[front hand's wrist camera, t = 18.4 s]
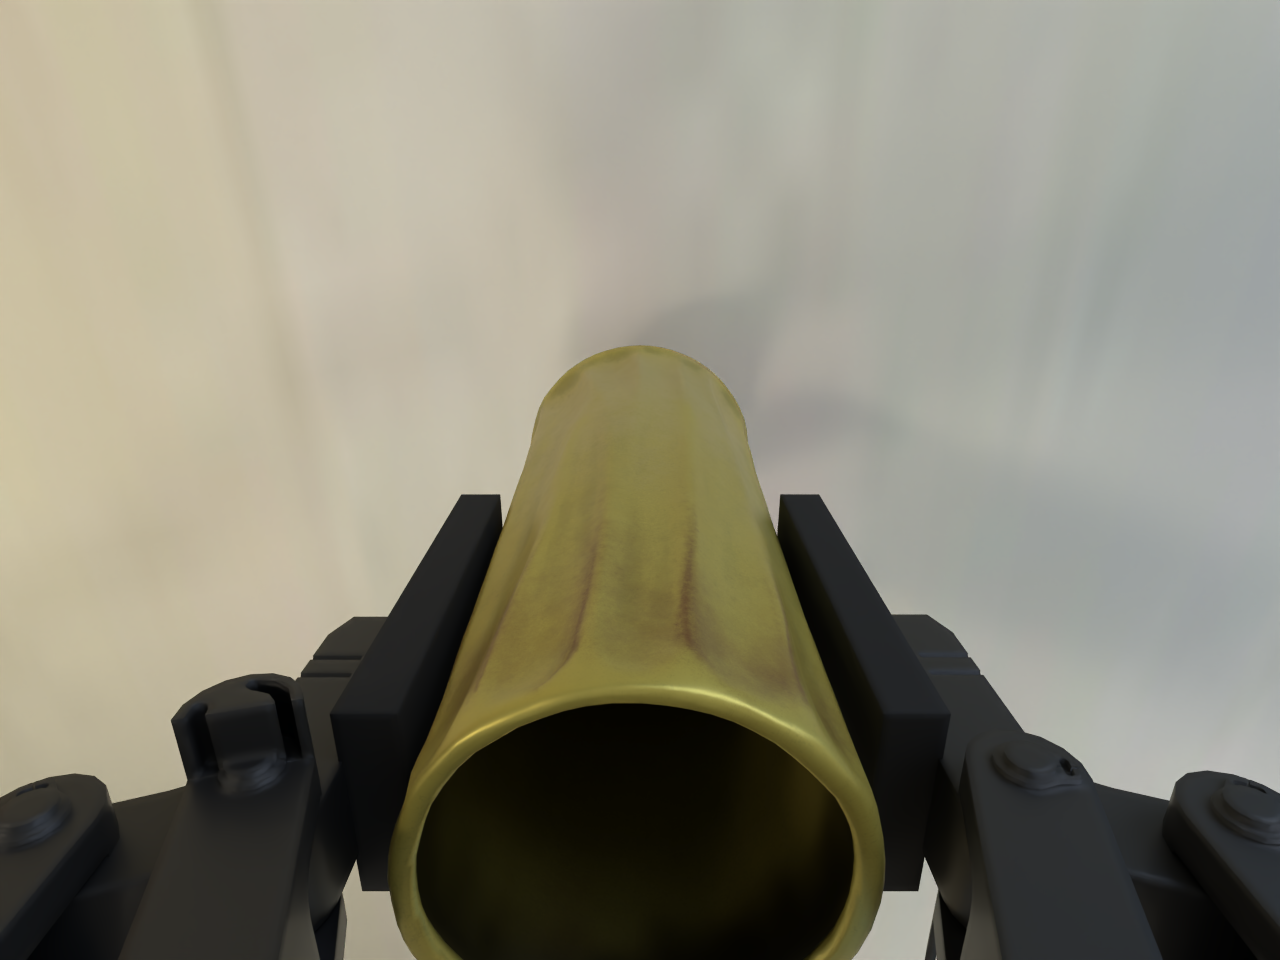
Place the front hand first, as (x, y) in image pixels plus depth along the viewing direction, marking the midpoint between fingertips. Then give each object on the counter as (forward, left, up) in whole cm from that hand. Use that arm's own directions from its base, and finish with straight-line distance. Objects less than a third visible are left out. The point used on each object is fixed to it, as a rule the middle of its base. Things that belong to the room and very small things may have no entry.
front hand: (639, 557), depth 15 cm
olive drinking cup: (0, 0, -7) cm, 7 cm away
